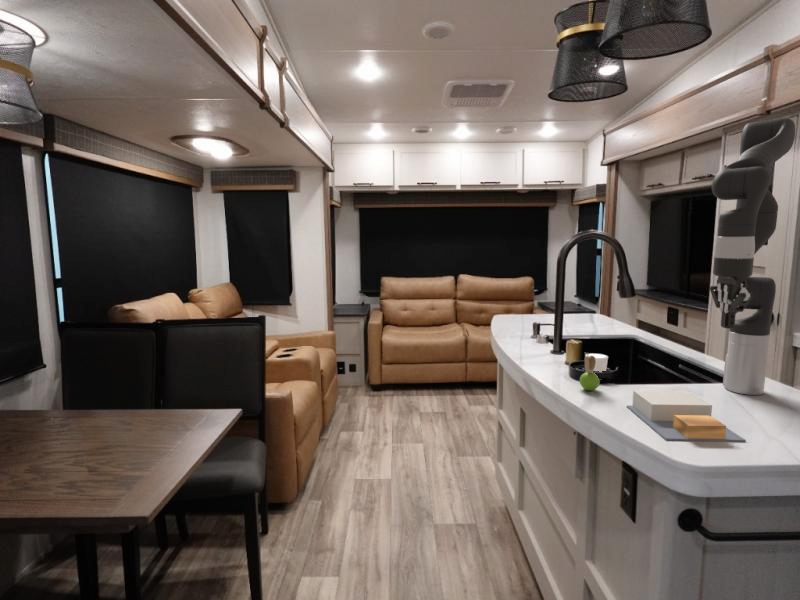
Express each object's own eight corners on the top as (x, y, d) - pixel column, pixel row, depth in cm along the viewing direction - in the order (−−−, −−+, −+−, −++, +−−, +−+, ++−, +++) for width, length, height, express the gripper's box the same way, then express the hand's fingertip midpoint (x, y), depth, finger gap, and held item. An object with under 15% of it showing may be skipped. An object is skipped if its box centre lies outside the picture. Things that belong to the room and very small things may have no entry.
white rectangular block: (632, 407, 120) (633, 390, 119) (687, 407, 119) (688, 391, 118) (650, 422, 110) (651, 404, 109) (710, 423, 109) (712, 405, 108)
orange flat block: (688, 425, 99) (687, 438, 100) (726, 426, 99) (725, 439, 99) (673, 415, 105) (672, 427, 106) (709, 415, 105) (708, 427, 105)
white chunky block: (580, 373, 150) (581, 353, 149) (600, 373, 150) (601, 352, 149) (590, 380, 143) (591, 358, 142) (611, 379, 143) (612, 357, 142)
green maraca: (574, 391, 133) (576, 351, 131) (583, 385, 137) (585, 347, 136) (593, 395, 129) (596, 354, 127) (601, 389, 134) (604, 350, 132)
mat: (626, 406, 120) (626, 405, 120) (693, 407, 119) (693, 406, 119) (665, 440, 100) (665, 438, 100) (745, 441, 99) (745, 440, 99)
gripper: (771, 257, 99) (763, 334, 102) (732, 253, 112) (726, 321, 115) (735, 258, 100) (728, 334, 102) (700, 254, 113) (695, 321, 115)
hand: (727, 327), depth 109 cm, fingers closed
